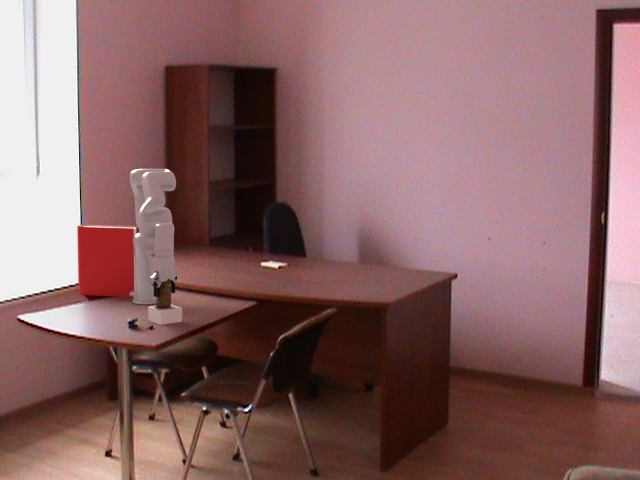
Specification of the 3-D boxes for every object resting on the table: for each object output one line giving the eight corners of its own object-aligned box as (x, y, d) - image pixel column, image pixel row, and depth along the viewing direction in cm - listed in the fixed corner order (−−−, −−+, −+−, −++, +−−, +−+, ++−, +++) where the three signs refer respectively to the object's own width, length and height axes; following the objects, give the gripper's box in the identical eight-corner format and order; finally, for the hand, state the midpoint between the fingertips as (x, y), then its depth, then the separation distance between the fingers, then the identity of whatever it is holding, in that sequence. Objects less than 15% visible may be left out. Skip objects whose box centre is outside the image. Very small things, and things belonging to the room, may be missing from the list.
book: (139, 293, 431) (139, 226, 427) (134, 297, 423) (133, 228, 419) (83, 291, 434) (82, 224, 430) (77, 294, 426) (76, 226, 422)
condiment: (169, 305, 379) (169, 276, 378) (175, 308, 372) (175, 279, 370) (152, 306, 376) (152, 277, 375) (158, 309, 368) (158, 280, 367)
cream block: (148, 321, 376) (148, 306, 375) (169, 317, 382) (169, 303, 382) (160, 325, 368) (160, 310, 368) (182, 322, 375) (182, 307, 374)
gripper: (169, 250, 381) (170, 290, 383) (143, 255, 366) (143, 297, 368) (184, 251, 378) (184, 292, 380) (158, 256, 362) (158, 299, 365)
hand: (164, 294), depth 374 cm, fingers open, 9 cm apart
